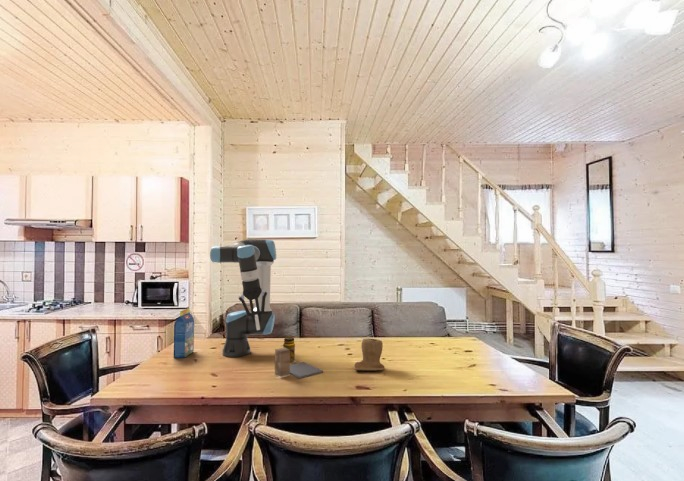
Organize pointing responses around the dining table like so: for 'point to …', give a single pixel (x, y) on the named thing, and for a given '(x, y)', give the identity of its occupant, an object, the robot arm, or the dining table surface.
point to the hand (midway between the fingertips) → (258, 329)
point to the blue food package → (184, 335)
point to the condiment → (290, 347)
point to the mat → (303, 370)
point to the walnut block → (282, 362)
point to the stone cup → (370, 355)
